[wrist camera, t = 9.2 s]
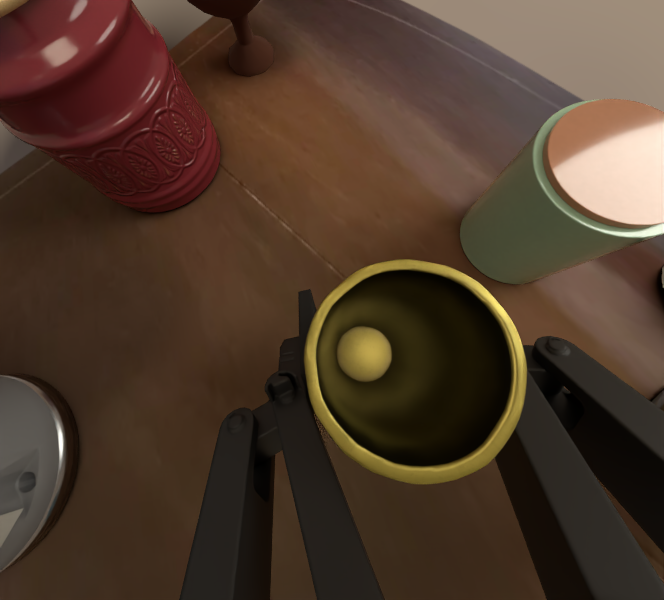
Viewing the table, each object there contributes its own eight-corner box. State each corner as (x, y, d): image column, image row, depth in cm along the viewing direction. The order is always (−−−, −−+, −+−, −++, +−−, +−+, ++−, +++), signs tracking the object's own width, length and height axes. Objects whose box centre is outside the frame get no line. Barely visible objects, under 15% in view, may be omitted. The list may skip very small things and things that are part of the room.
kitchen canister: (248, 144, 26) (57, -268, 9) (168, 239, 24) (-280, -48, 7) (161, 95, 28) (-133, -319, 11) (82, 178, 26) (-431, -160, 9)
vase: (321, 320, 20) (275, 256, 6) (394, 311, 20) (510, 225, 6) (330, 397, 19) (295, 527, 5) (407, 388, 19) (591, 495, 5)
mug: (439, 242, 23) (505, 167, 13) (515, 156, 24) (620, 36, 15) (524, 305, 21) (665, 269, 12) (599, 209, 22) (776, 111, 13)
